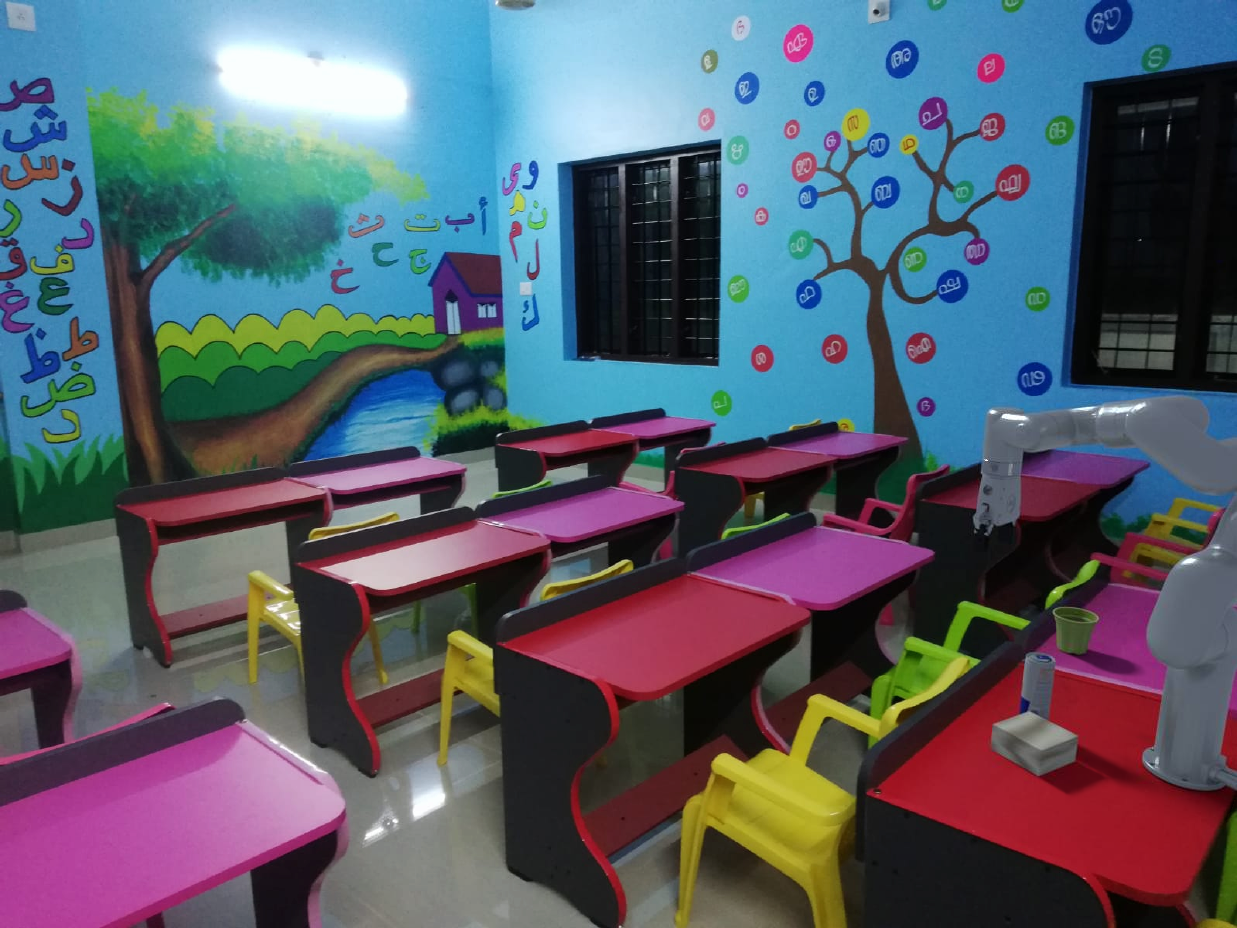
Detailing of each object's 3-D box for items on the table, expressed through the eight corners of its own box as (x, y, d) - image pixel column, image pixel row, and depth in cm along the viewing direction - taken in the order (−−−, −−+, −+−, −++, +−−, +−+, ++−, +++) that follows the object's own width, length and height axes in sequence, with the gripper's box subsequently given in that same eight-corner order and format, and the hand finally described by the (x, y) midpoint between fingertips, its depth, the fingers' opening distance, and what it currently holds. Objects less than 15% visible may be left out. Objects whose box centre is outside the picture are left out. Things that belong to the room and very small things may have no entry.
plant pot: (1039, 645, 204) (1043, 610, 202) (1067, 637, 208) (1071, 603, 206) (1075, 661, 195) (1079, 625, 194) (1103, 653, 199) (1108, 618, 197)
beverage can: (1041, 722, 170) (1049, 651, 166) (1051, 736, 165) (1060, 663, 161) (1013, 721, 170) (1021, 650, 167) (1023, 735, 165) (1031, 662, 162)
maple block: (1075, 761, 156) (1078, 735, 155) (1038, 776, 152) (1041, 750, 151) (1026, 735, 165) (1029, 711, 164) (990, 748, 160) (992, 724, 159)
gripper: (998, 477, 170) (989, 561, 174) (1039, 464, 181) (1030, 543, 185) (962, 471, 176) (954, 551, 179) (1004, 458, 186) (996, 535, 190)
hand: (993, 547), depth 182 cm, fingers open, 9 cm apart
